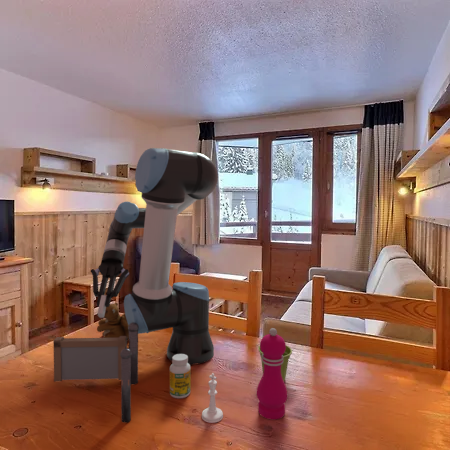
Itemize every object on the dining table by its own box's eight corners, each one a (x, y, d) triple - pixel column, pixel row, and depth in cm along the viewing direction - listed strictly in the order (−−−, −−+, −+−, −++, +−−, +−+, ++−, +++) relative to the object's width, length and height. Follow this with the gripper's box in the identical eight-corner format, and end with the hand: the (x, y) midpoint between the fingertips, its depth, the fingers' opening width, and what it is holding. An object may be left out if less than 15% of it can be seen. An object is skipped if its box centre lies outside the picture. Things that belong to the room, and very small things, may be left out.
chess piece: (215, 425, 74) (215, 381, 74) (197, 418, 77) (197, 375, 77) (227, 414, 79) (227, 372, 78) (209, 407, 81) (210, 366, 81)
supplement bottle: (186, 386, 91) (187, 351, 90) (193, 396, 86) (193, 359, 85) (167, 390, 88) (167, 354, 88) (172, 401, 84) (173, 363, 83)
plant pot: (294, 375, 97) (295, 345, 97) (286, 391, 89) (287, 359, 88) (263, 368, 101) (264, 340, 101) (252, 383, 93) (253, 352, 92)
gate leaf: (127, 375, 93) (127, 336, 93) (125, 379, 91) (125, 339, 90) (57, 377, 92) (57, 336, 91) (53, 381, 90) (53, 340, 89)
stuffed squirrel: (101, 335, 126) (101, 300, 125) (140, 334, 127) (140, 299, 127) (94, 346, 116) (93, 308, 115) (136, 344, 117) (136, 307, 117)
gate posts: (144, 379, 94) (144, 320, 93) (130, 423, 75) (130, 349, 74) (129, 379, 94) (129, 320, 93) (111, 423, 74) (110, 350, 74)
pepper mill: (286, 423, 76) (288, 335, 75) (254, 418, 77) (256, 332, 76) (287, 404, 83) (289, 324, 82) (257, 401, 84) (259, 322, 83)
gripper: (134, 261, 125) (123, 320, 109) (98, 261, 124) (82, 321, 109) (131, 248, 120) (119, 309, 104) (93, 248, 119) (76, 309, 103)
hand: (100, 315), depth 106 cm, fingers closed
